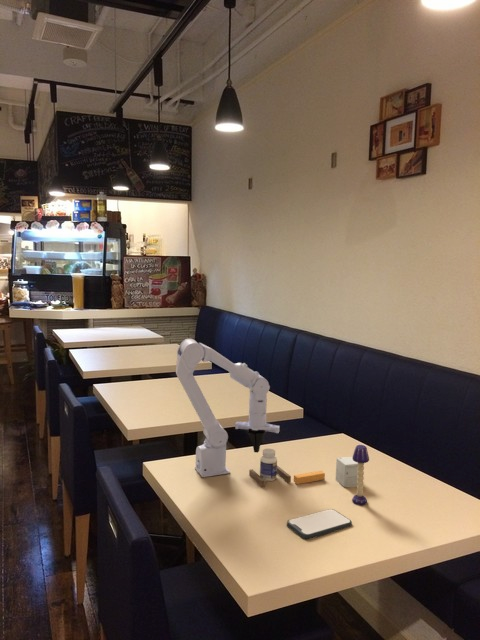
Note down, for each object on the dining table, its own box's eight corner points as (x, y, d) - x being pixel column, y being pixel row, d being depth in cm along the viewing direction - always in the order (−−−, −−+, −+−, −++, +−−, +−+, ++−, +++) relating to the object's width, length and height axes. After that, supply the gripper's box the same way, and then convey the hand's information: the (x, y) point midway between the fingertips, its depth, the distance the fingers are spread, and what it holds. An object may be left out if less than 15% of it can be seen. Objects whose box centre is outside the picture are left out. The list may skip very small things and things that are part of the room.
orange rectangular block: (296, 484, 158) (297, 477, 158) (293, 481, 160) (293, 475, 159) (324, 479, 162) (324, 473, 162) (321, 476, 164) (321, 470, 163)
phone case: (331, 513, 142) (284, 525, 134) (332, 507, 142) (284, 520, 134) (353, 527, 135) (305, 542, 127) (354, 521, 135) (305, 536, 126)
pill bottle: (275, 482, 160) (276, 454, 159) (258, 480, 161) (259, 453, 160) (277, 475, 165) (278, 448, 164) (261, 473, 166) (262, 447, 165)
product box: (343, 487, 157) (344, 464, 156) (334, 479, 163) (336, 457, 162) (361, 485, 159) (363, 463, 158) (352, 477, 164) (353, 455, 164)
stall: (261, 487, 156) (261, 481, 155) (249, 475, 164) (249, 469, 164) (290, 482, 160) (290, 476, 159) (276, 471, 168) (277, 465, 168)
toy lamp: (363, 507, 145) (366, 450, 143) (347, 503, 147) (350, 446, 145) (369, 500, 149) (372, 445, 147) (353, 496, 151) (356, 442, 149)
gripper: (233, 413, 167) (232, 453, 168) (277, 417, 163) (276, 458, 165) (238, 407, 173) (237, 445, 175) (281, 411, 170) (279, 450, 171)
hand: (256, 451), depth 170 cm, fingers closed
